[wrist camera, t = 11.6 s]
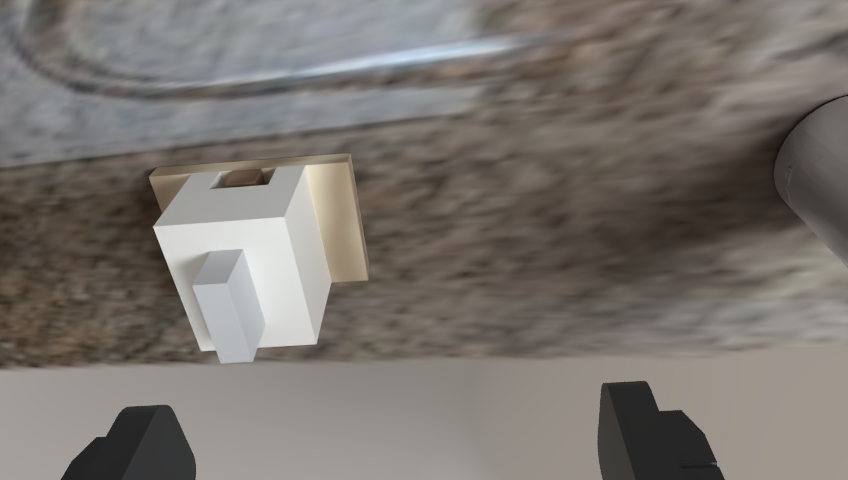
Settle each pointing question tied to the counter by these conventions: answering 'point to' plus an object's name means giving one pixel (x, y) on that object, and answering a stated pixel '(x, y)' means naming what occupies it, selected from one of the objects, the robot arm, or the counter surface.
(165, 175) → the wall board
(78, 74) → the counter surface
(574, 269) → the counter surface
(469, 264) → the counter surface
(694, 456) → the robot arm
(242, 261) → the notched white block
